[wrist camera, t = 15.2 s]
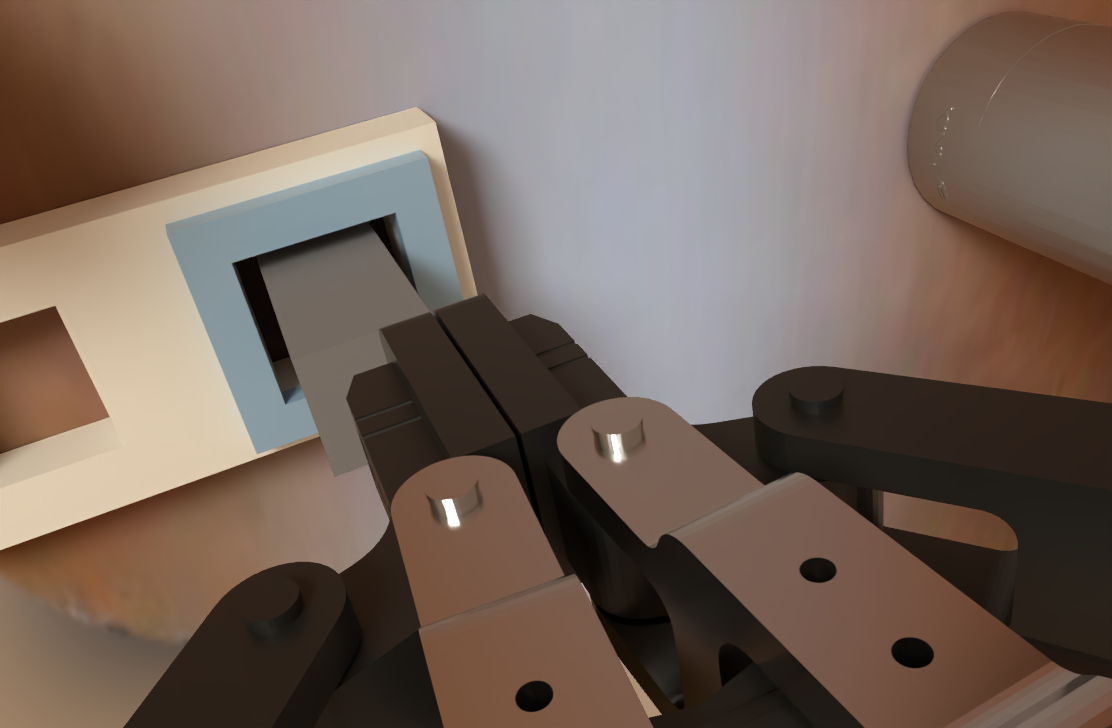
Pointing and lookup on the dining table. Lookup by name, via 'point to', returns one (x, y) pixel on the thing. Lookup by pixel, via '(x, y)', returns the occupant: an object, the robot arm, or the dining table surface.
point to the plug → (337, 322)
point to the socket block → (204, 308)
